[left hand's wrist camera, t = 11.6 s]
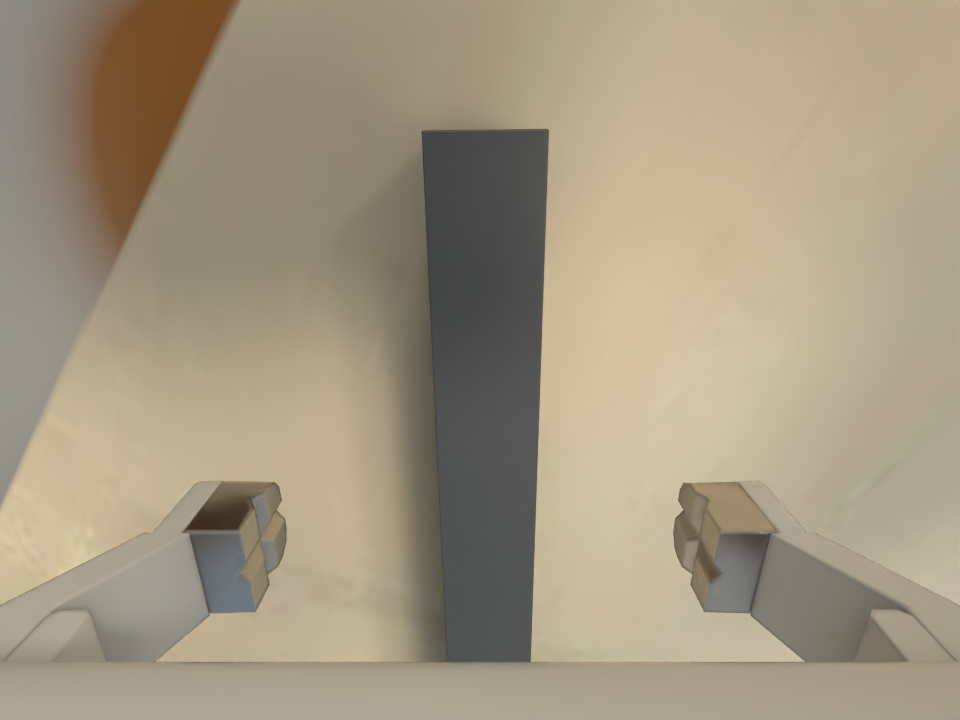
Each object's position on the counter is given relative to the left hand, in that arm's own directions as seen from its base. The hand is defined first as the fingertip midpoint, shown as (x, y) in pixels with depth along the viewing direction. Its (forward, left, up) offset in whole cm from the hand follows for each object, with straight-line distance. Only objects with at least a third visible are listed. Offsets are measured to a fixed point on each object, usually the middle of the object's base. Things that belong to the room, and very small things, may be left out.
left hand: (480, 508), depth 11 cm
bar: (+27, -19, -21) cm, 39 cm away
